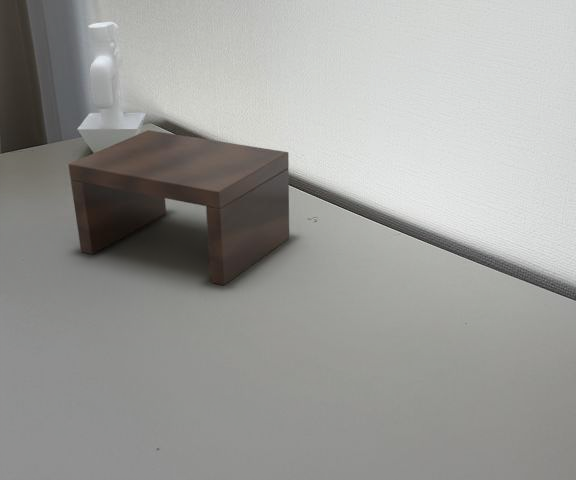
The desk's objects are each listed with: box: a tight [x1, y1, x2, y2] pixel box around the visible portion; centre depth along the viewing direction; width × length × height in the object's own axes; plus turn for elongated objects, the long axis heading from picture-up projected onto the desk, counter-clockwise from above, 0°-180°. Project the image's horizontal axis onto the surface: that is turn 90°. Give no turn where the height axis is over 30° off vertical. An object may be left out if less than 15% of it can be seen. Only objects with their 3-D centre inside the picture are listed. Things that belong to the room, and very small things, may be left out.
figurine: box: [76, 21, 147, 154], centre depth 105 cm, size 7×9×15 cm
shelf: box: [67, 129, 290, 286], centre depth 81 cm, size 16×12×8 cm
